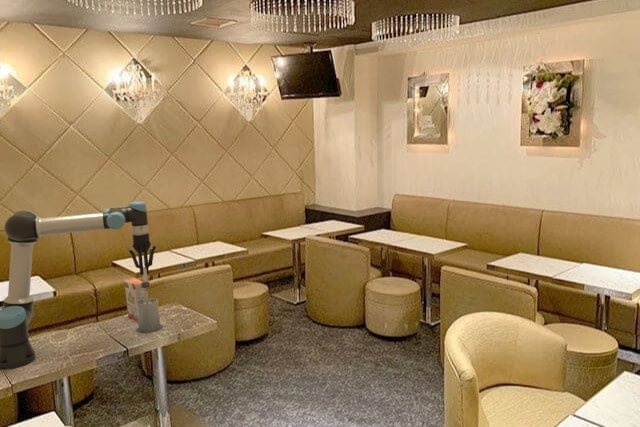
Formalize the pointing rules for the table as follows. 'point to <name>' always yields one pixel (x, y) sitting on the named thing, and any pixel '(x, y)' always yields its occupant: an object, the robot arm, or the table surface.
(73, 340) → the table surface
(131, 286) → the cracker box
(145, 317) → the grey hexagonal cup
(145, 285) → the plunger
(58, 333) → the table surface
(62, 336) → the table surface
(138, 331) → the coaster
